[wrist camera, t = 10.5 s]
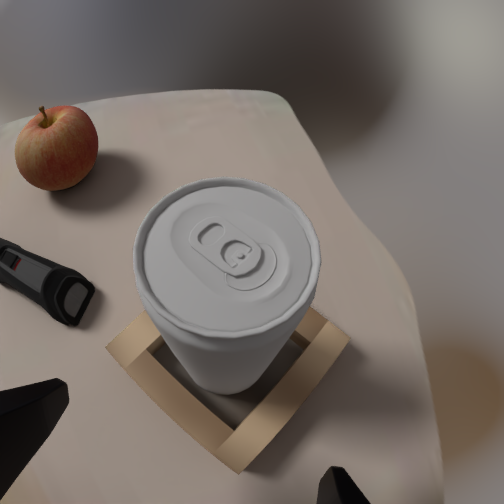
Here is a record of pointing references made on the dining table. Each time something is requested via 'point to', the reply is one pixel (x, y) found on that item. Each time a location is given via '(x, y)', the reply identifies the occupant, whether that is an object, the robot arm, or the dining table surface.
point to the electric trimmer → (46, 283)
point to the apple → (57, 148)
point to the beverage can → (226, 277)
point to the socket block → (234, 405)
